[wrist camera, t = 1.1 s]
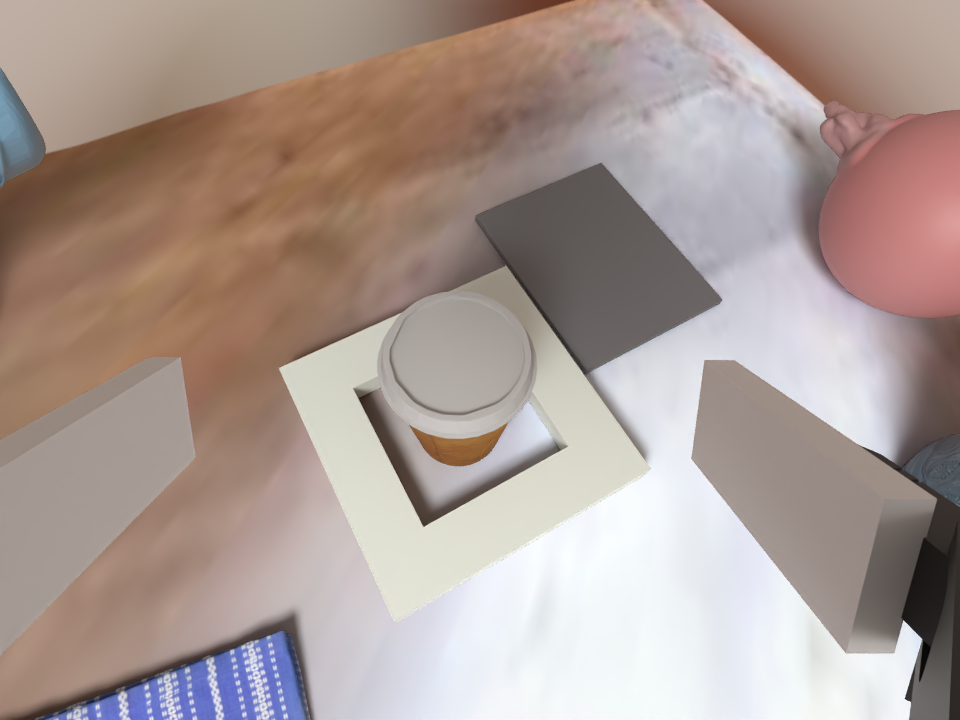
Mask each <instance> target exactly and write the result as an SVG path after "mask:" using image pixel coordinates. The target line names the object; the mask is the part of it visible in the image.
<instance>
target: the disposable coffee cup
mask: <svg viewBox="0 0 960 720" xmlns="http://www.w3.org/2000/svg"><path fill="white" fill-rule="evenodd" d="M377 373H378V379H379V385H380V387H381V390H382V392H383V395H384V397H385V399H386V401H387V402H388V404H389V405H390V406H391V408H392V409H393V411H394V412H395V413H396V414H397V415H398V416H399V417H400V418H401V419H403V420H404V421H405V422H407V423H408V424H409V426H410V427H411V429H412V430H413V432H414V434H415V435H416V436H417V438H418V440H419V441H420V443H421V445H422V446H423V448H424V449H425V451H426V452H427V453H428V454H429V455H430V456H431V457H432V458H434V459H435V460H437V461H439V462H441V463H444V464H447V465H451V466H466V465H471V464H473V463H476V462H478V461H480V460H481V459H483V458H484V457H486V456H487V455H488V454H489V453H490V452H491V451H492V449H493V448H494V446H495V445H496V443H497V441H498V439H499V437H500V436H501V434H502V432H503V430H504V429H505V427H506V425H507V424H508V422H509V421H510V420H511V419H512V418H513V417H515V416H516V415H517V414H518V413H519V412H520V410H521V409H522V408H523V406H524V405H525V404H526V402H527V401H528V399H529V397H530V395H531V393H532V390H533V387H534V384H535V381H536V374H537V359H536V352H535V349H534V345H533V343H532V340H531V338H530V336H529V334H528V332H527V331H526V330H525V328H524V327H523V325H522V324H521V322H520V321H519V320H518V319H517V317H516V316H515V315H514V314H513V313H512V312H511V311H510V310H509V309H508V308H506V307H505V306H504V305H502V304H501V303H500V302H498V301H496V300H494V299H491V298H489V297H487V296H485V295H482V294H478V293H472V292H466V291H450V292H440V293H437V294H434V295H430V296H427V297H424V298H423V299H421V300H419V301H417V302H415V303H413V304H412V305H411V306H410V307H408V308H407V309H406V310H405V311H403V312H402V313H401V314H400V315H399V316H398V317H397V319H396V320H395V322H394V323H393V325H392V326H391V328H390V329H389V330H388V332H387V334H386V336H385V337H384V339H383V341H382V344H381V347H380V350H379V354H378V360H377Z"/></svg>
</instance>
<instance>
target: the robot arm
mask: <svg viewBox="0 0 960 720" xmlns="http://www.w3.org/2000/svg"><path fill="white" fill-rule="evenodd" d="M45 150H46V148H45V143H44V140H43V137H42V135H41V133H40V131H39V130H38V128H37V126H36V124H35V123H34V121H33V119H32V117H31V116H30V114H29V112H28V111H27V109H26V108H25V106H24V104H23V103H22V101H21V99H20V98H19V96H18V94H17V93H16V91H15V90H14V88H13V86H12V85H11V83H10V82H9V80H8V78H7V77H6V75H5V74H4V72H3V71H2V69H1V68H0V188H2V187H3V186H4V184H5V183H6V182H8V181H10V180H12V179H14V178H16V177H18V176H20V175H21V174H23V173H25V172H27V171H29V170H31V169H33V168H35V167H37V166H38V165H39V164H40V163H41V161H42V160H43V158H44V156H45ZM195 458H196V457H195V451H194V444H193V437H192V431H191V424H190V417H189V411H188V404H187V397H186V391H185V384H184V377H183V371H182V364H181V357H148V358H147V359H145V360H143V361H141V362H139V363H138V364H136V365H134V366H132V367H130V368H129V369H127V370H125V371H123V372H121V373H120V374H118V375H116V376H114V377H112V378H111V379H109V380H107V381H105V382H103V383H102V384H100V385H98V386H96V387H94V388H93V389H91V390H89V391H87V392H85V393H84V394H82V395H80V396H78V397H76V398H75V399H73V400H71V401H69V402H67V403H66V404H64V405H62V406H60V407H58V408H57V409H55V410H53V411H51V412H49V413H48V414H46V415H44V416H42V417H40V418H39V419H37V420H35V421H33V422H31V423H29V424H28V425H26V426H24V427H22V428H20V429H19V430H17V431H15V432H13V433H11V434H10V435H8V436H6V437H4V438H2V439H1V440H0V655H1V654H2V653H3V652H4V651H5V650H6V649H7V648H8V647H9V646H10V645H11V644H12V643H13V642H14V641H15V640H16V639H17V638H18V637H19V636H20V635H21V634H22V633H23V632H24V631H25V630H26V629H27V628H28V627H29V626H30V625H31V624H32V623H33V622H34V621H35V620H36V619H37V618H38V617H39V616H40V615H41V614H42V613H43V612H44V611H45V610H46V609H47V608H48V607H49V606H50V605H51V604H52V603H53V602H54V601H55V600H56V599H57V598H58V597H59V596H60V595H61V594H62V593H63V592H64V591H65V590H66V588H67V587H68V586H69V585H70V584H71V583H72V582H73V581H74V580H75V579H76V578H77V577H78V576H79V575H80V574H81V573H82V572H83V571H84V570H85V569H86V568H87V567H88V566H89V565H90V564H91V563H92V562H93V561H94V560H95V559H96V558H97V557H98V556H99V555H100V554H101V553H102V552H103V551H104V550H105V549H106V548H107V547H108V546H109V545H110V544H111V543H112V542H113V541H114V540H115V539H116V538H117V537H118V536H119V535H120V534H121V533H122V532H123V531H124V530H125V529H126V528H127V527H128V526H129V525H130V524H131V523H132V522H133V520H134V519H135V518H136V517H137V516H138V515H139V514H140V513H141V512H142V511H143V510H144V509H145V508H146V507H147V506H148V505H149V504H150V503H151V502H152V501H153V500H154V499H155V498H156V497H157V496H158V495H159V494H160V493H161V492H162V491H163V490H164V489H165V488H166V487H167V486H168V485H169V484H170V483H171V482H172V481H173V480H174V479H175V478H176V477H177V476H178V475H179V474H180V473H181V472H182V471H183V470H184V469H185V468H186V467H187V466H188V465H189V464H190V463H191V462H192V461H193V460H194V459H195ZM691 459H692V460H693V461H694V463H695V464H696V465H697V466H698V468H699V469H700V470H701V471H702V473H703V474H704V475H705V476H706V478H707V479H708V480H709V481H710V483H711V484H712V485H713V487H714V488H715V489H716V490H717V492H718V493H719V494H720V495H721V497H722V498H723V499H724V500H725V502H726V503H727V504H728V505H729V507H730V508H731V509H732V510H733V512H734V513H735V514H736V515H737V517H738V518H739V519H740V521H741V522H742V523H743V524H744V526H745V527H746V528H747V529H748V531H749V532H750V533H751V534H752V536H753V537H754V538H755V539H756V541H757V542H758V543H759V544H760V546H761V547H762V548H763V549H764V551H765V552H766V553H767V555H768V556H769V557H770V558H771V560H772V561H773V562H774V563H775V565H776V566H777V567H778V568H779V570H780V571H781V572H782V573H783V575H784V576H785V577H786V578H787V580H788V581H789V582H790V583H791V585H792V586H793V587H794V589H795V590H796V591H797V592H798V594H799V595H800V596H801V597H802V599H803V600H804V601H805V602H806V604H807V605H808V606H809V607H810V609H811V610H812V611H813V612H814V614H815V615H816V616H817V617H818V619H819V620H820V621H821V623H822V624H823V625H824V626H825V628H826V629H827V630H828V631H829V633H830V634H831V635H832V636H833V638H834V639H835V640H836V641H837V643H838V644H839V645H840V646H841V648H842V649H843V650H844V651H845V653H894V651H895V648H896V644H897V641H898V637H899V634H900V630H901V627H902V623H903V620H904V621H905V622H906V623H907V624H908V625H909V626H910V627H911V628H912V629H913V630H914V631H915V632H916V633H917V634H918V635H919V636H920V637H921V638H922V643H921V646H920V649H919V653H918V656H917V659H916V663H915V666H914V670H913V673H912V676H911V680H910V683H909V686H908V690H907V693H906V697H905V699H906V700H908V701H910V702H911V709H910V717H909V720H960V507H959V506H957V505H956V504H954V503H953V502H951V501H950V500H948V499H947V498H945V497H944V496H942V495H941V494H939V493H938V492H936V491H935V490H933V489H932V488H930V487H929V486H927V485H926V484H925V483H923V482H919V479H917V478H916V477H914V476H913V475H911V474H910V473H908V472H907V471H902V468H901V467H899V466H898V465H896V464H895V463H893V462H892V461H890V460H889V459H887V458H886V457H884V456H883V455H881V454H879V453H876V452H874V451H872V450H869V449H867V448H864V447H862V446H860V445H858V444H856V443H855V442H853V441H852V440H850V439H849V438H847V437H846V436H844V435H843V434H842V433H840V432H839V431H837V430H836V429H834V428H833V427H831V426H830V425H828V424H827V423H825V422H824V421H822V420H821V419H820V418H818V417H817V416H815V415H814V414H812V413H811V412H809V411H808V410H806V409H805V408H803V407H802V406H801V405H799V404H798V403H796V402H795V401H793V400H792V399H790V398H789V397H787V396H786V395H784V394H783V393H781V392H780V391H779V390H777V389H776V388H774V387H773V386H771V385H770V384H768V383H767V382H765V381H764V380H762V379H761V378H760V377H758V376H757V375H755V374H754V373H752V372H751V371H749V370H748V369H746V368H745V367H743V366H742V365H741V364H739V363H738V362H736V361H735V360H705V361H704V369H703V376H702V384H701V391H700V399H699V406H698V414H697V421H696V429H695V436H694V444H693V451H692V458H691Z"/></svg>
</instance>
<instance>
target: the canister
mask: <svg viewBox="0 0 960 720" xmlns="http://www.w3.org/2000/svg"><path fill="white" fill-rule="evenodd" d="M902 471H907V472H908V473H910V474H911V475H913V476H914V477H916V478H917V479H919V482H923V483H925V484H926V485H927V486H929V487H930V488H932V489H933V490H935V491H936V492H938V493H939V494H941V495H942V496H944V497H945V498H947V499H948V500H950V501H951V502H953V503H954V504H956V505H957V506H959V507H960V433H958V434H953V435H950V436H946V437H944V438H941V439H939V440H937V441H935V442H933V443H931V444H929V445H927V446H926V447H924V448H923V449H922V450H920V451H919V452H918V453H917V454H916V455H915V456H914V457H913V458H912V459H910V460H909V461H908V462H907V463H906V465H905V466H904V467H903V469H902Z"/></svg>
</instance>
